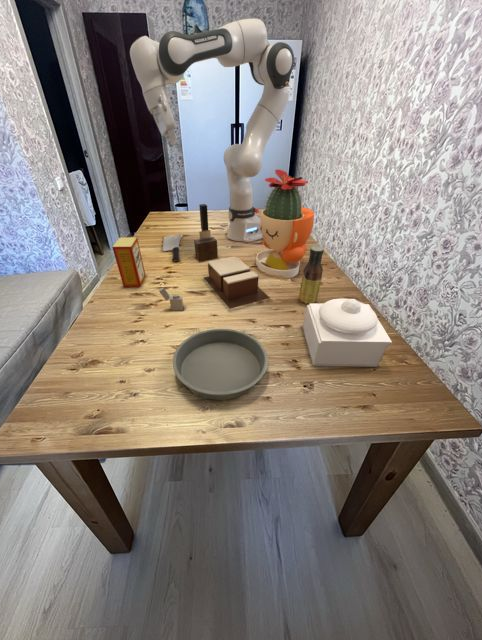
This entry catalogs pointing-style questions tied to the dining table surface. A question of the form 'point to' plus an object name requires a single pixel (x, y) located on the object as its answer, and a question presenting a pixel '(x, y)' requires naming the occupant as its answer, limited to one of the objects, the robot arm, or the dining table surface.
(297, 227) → the potted cactus
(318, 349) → the white lidded canister
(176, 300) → the lighter
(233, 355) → the cake pan
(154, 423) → the dining table surface
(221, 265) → the cake
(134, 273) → the baking soda box
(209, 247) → the knife block
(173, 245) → the kitchen cleaver
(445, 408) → the dining table surface
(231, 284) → the cake slice
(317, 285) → the sauce bottle
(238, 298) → the cake board
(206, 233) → the cake knife
